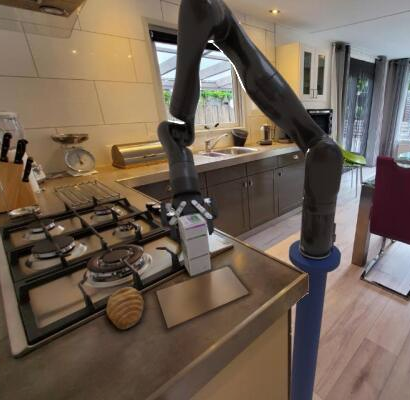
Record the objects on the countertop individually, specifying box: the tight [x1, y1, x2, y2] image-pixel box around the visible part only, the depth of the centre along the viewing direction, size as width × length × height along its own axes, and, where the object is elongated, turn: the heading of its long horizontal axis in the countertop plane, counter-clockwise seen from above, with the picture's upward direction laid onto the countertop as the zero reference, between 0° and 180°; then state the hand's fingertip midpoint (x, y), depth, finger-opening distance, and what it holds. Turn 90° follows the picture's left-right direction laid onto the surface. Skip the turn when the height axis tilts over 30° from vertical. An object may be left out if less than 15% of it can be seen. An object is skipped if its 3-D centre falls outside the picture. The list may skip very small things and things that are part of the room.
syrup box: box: [177, 213, 212, 277], centre depth 64 cm, size 6×6×14 cm
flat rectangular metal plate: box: [155, 265, 250, 330], centre depth 58 cm, size 18×12×1 cm, turn 123°
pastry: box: [105, 286, 145, 331], centre depth 51 cm, size 9×7×4 cm
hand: (194, 237), depth 64 cm, fingers open, 8 cm apart
